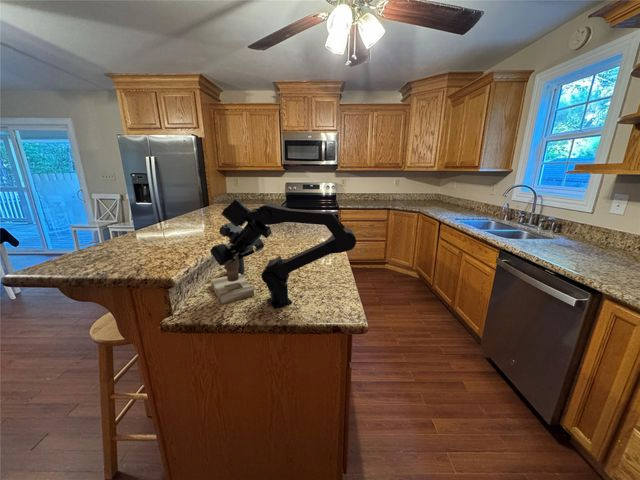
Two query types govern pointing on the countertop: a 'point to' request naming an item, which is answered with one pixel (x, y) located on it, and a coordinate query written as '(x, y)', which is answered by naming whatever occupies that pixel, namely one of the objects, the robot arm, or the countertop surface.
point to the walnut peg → (232, 269)
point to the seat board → (223, 286)
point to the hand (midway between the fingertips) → (228, 261)
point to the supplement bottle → (241, 266)
